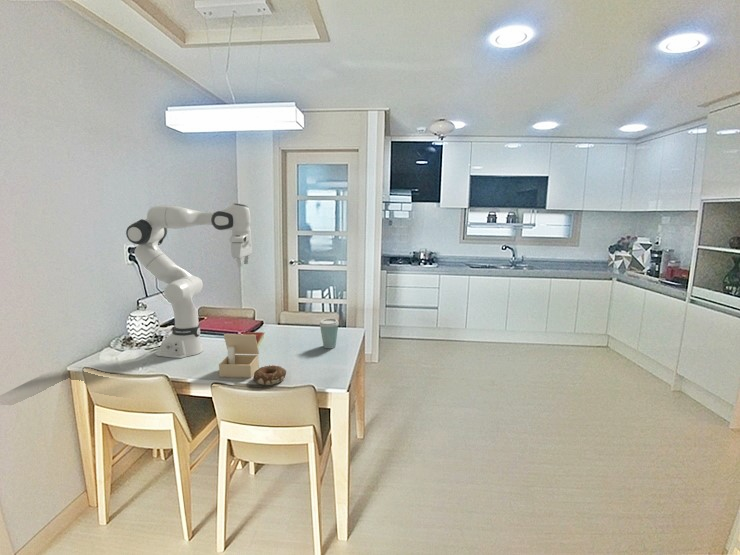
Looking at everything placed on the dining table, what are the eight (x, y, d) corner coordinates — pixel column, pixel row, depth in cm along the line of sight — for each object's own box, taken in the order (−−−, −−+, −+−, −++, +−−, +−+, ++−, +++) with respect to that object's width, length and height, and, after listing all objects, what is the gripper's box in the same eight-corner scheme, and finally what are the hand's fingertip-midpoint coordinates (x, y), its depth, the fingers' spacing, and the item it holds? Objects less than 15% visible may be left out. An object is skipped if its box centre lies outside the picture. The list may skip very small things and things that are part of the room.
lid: (223, 334, 178) (223, 334, 178) (228, 353, 185) (228, 353, 185) (255, 335, 178) (255, 334, 178) (258, 354, 185) (259, 353, 185)
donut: (273, 389, 164) (273, 378, 163) (247, 383, 169) (246, 372, 168) (292, 376, 177) (292, 365, 176) (267, 371, 182) (267, 361, 181)
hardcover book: (234, 352, 206) (233, 344, 205) (243, 338, 226) (243, 331, 225) (257, 351, 207) (257, 344, 206) (264, 338, 227) (264, 331, 226)
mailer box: (219, 377, 174) (218, 353, 172) (229, 366, 186) (228, 344, 184) (250, 378, 174) (250, 354, 172) (258, 367, 186) (258, 345, 184)
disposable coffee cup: (329, 351, 208) (329, 324, 205) (315, 346, 214) (315, 320, 211) (342, 346, 216) (342, 320, 213) (328, 341, 222) (328, 316, 220)
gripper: (242, 235, 201) (243, 262, 203) (228, 238, 181) (229, 268, 183) (254, 236, 201) (255, 262, 203) (241, 239, 181) (242, 268, 183)
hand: (243, 265), depth 193 cm, fingers open, 8 cm apart
